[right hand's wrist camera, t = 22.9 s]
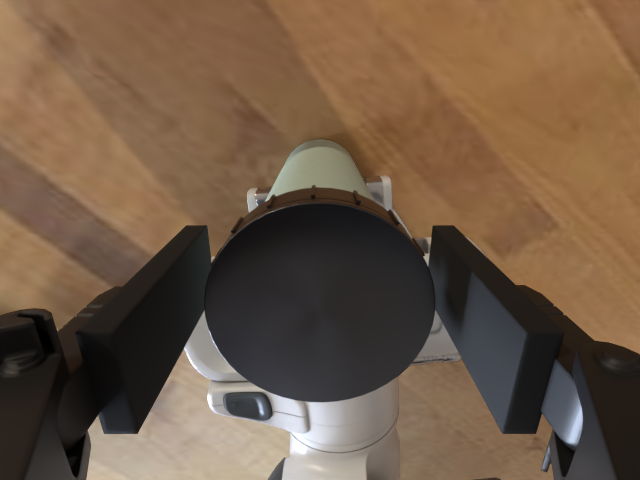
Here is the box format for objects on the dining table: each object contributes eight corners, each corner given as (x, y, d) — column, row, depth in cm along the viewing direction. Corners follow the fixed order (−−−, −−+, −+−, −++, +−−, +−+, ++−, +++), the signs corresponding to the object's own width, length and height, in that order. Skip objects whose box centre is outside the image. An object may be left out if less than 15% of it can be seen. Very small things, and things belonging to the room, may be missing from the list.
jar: (272, 194, 29) (204, 336, 12) (300, 126, 27) (265, 176, 10) (337, 221, 29) (362, 391, 12) (368, 157, 28) (446, 253, 11)
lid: (176, 237, 11) (153, 259, 10) (379, 146, 10) (389, 155, 9) (274, 390, 13) (267, 429, 12) (448, 328, 12) (466, 360, 11)
